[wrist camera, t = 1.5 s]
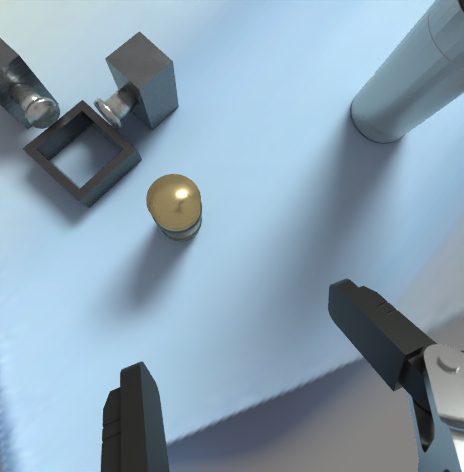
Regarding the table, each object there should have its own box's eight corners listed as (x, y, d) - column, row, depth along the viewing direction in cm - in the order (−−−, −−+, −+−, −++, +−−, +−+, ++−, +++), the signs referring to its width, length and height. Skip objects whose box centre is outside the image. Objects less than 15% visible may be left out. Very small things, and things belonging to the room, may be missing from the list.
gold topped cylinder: (180, 194, 36) (173, 162, 26) (209, 221, 36) (213, 198, 26) (152, 222, 35) (133, 200, 25) (181, 250, 35) (174, 238, 25)
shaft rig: (94, 30, 39) (67, -34, 31) (189, 116, 38) (186, 73, 30) (-14, 112, 35) (-76, 64, 27) (89, 207, 35) (56, 186, 27)
